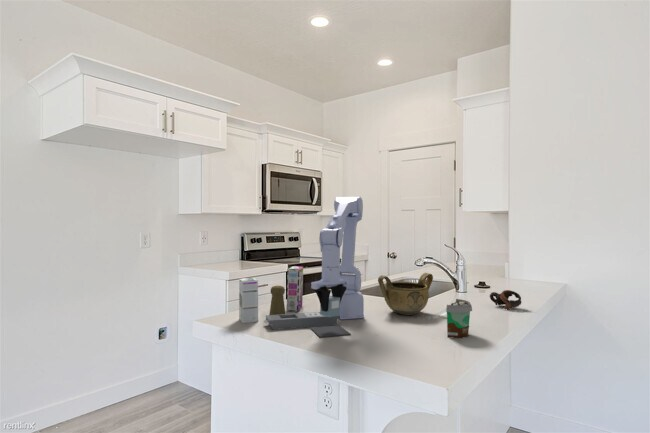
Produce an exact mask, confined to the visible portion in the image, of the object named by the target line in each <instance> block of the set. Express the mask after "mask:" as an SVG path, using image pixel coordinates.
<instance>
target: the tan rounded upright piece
mask: <svg viewBox="0 0 650 433" xmlns="http://www.w3.org/2000/svg"><path fill="white" fill-rule="evenodd" d="M285 292H286V289H285V287H284V286H282V285H273V286H271V288H270V294H271V301H270V308H269V314H268V315H280V314H286V308H285V307H286V306H285V300H284V299H285V298H284V295H285Z"/></svg>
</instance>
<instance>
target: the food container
mask: <svg viewBox="0 0 650 433" xmlns="http://www.w3.org/2000/svg"><path fill="white" fill-rule="evenodd" d="M445 312H446V328H447V329H446V330H447V332H446V333H447V338H449V337H454V338H453V339H463V337H465V338H468V337H469V331H470V330H469V329H470V317H471V316H470V315H471V312H473V306H472V304H471V302H470V301H469V300H465V299H462V298H461V299H460V298H456V299H455V302H452V303H450V304H446V310H445Z"/></svg>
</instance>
